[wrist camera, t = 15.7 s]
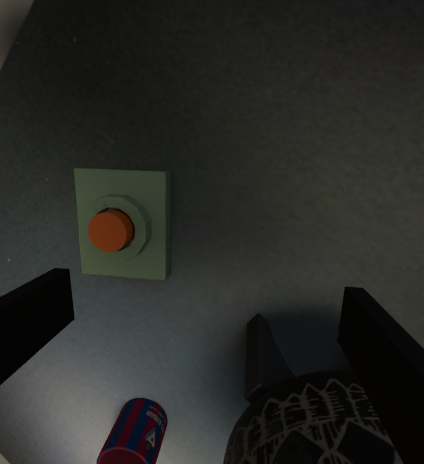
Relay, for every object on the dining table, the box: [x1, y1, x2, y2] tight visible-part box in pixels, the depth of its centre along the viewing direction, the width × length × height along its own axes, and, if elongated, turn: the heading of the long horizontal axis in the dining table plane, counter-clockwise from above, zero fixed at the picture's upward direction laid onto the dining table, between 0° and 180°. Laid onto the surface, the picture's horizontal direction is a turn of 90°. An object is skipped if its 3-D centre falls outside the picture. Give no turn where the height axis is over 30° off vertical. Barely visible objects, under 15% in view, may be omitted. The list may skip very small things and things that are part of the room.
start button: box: [88, 210, 133, 252], centre depth 28 cm, size 4×4×2 cm
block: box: [74, 168, 171, 281], centre depth 30 cm, size 12×10×4 cm
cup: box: [97, 399, 167, 464], centre depth 35 cm, size 7×10×7 cm
